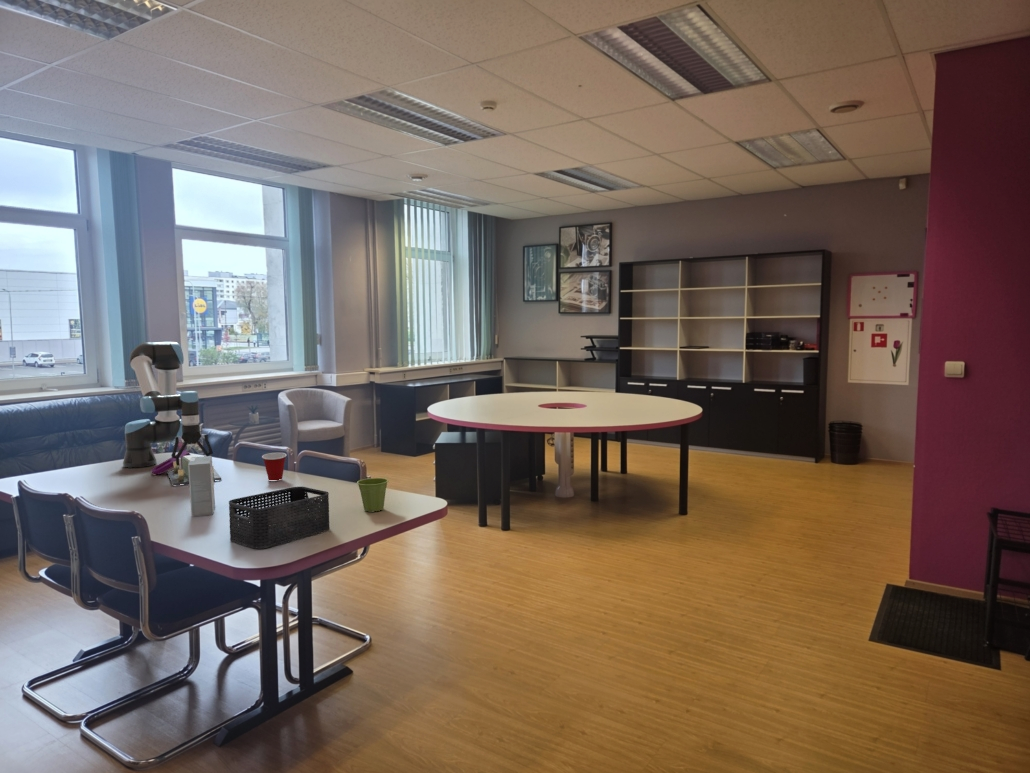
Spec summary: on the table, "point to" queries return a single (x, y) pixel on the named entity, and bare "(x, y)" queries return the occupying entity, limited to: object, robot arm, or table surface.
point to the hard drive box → (201, 486)
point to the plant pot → (373, 493)
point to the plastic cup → (274, 465)
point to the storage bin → (278, 517)
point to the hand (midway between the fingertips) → (193, 470)
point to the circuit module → (186, 463)
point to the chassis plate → (184, 475)
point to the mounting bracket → (168, 464)
